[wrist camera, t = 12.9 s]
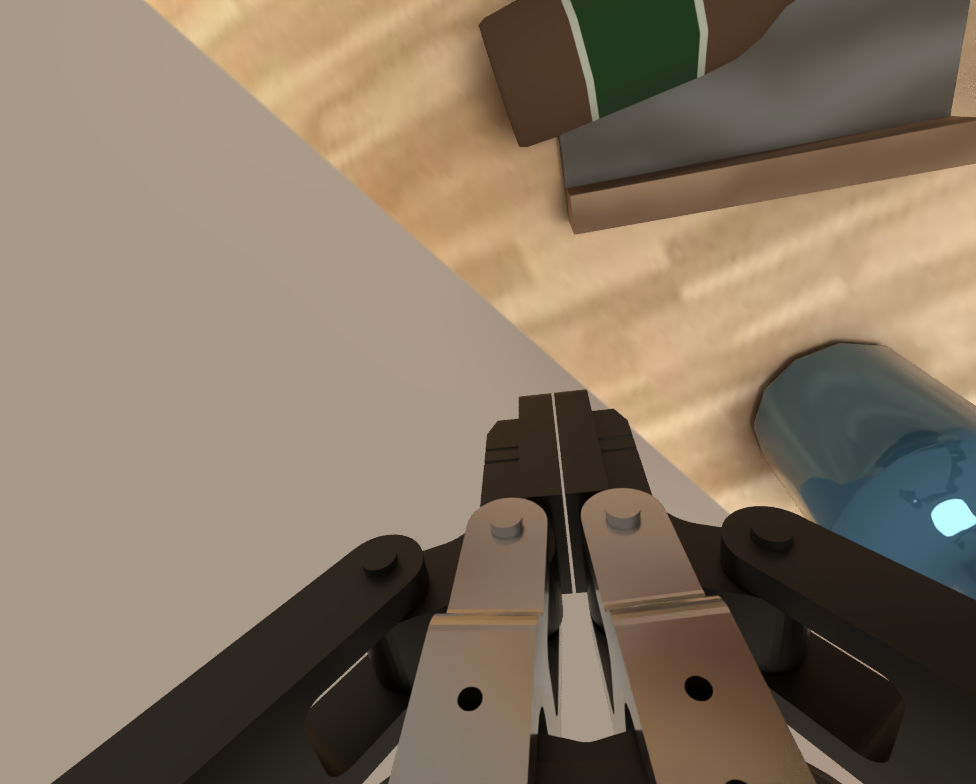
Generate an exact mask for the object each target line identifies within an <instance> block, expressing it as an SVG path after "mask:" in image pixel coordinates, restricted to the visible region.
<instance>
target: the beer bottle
mask: <svg viewBox="0 0 976 784" xmlns="http://www.w3.org/2000/svg"><path fill="white" fill-rule="evenodd" d="M794 1H796V0H516V1H514V2H512V3H511V4H509V5H507V6H505V7H503V8H502V9H500V10H498V11H496V12H494V13H493V14H491V15H489V16H487V17H485V18H484V19H483V20H482V21H481V23H480V24H479V28H480V31H481V34H482V38H483V41H484V44H485V47H486V50H487V54H488V57H489V60H490V63H491V66H492V69H493V72H494V75H495V78H496V81H497V84H498V87H499V90H500V93H501V96H502V99H503V102H504V105H505V108H506V111H507V114H508V117H509V119H510V122H511V125H512V128H513V130H514V133H515V136H516V139H517V142H518V144H519V147H528V146H531V145H534V144H537V143H540V142H543V141H546V140H548V139H551V138H554V137H557V136H559V135H561V134H564V133H566V132H569V131H571V130H574V129H576V128H578V127H581V126H583V125H586V124H588V123H590V122H593V121H595V120H598V119H600V118H602V117H605V116H607V115H610V114H612V113H614V112H617V111H619V110H622V109H624V108H626V107H629V106H631V105H634V104H636V103H639V102H641V101H643V100H646V99H648V98H651V97H653V96H655V95H658V94H660V93H663V92H665V91H667V90H670V89H672V88H675V87H677V86H679V85H682V84H684V83H687V82H689V81H691V80H694V79H696V78H699V77H701V76H703V75H706V74H708V73H710V72H712V71H714V70H716V69H718V68H720V67H722V66H724V65H726V64H728V63H730V62H732V61H734V60H736V59H737V58H738V57H739V56H741V55H742V54H743V53H744V52H745V51H747V50H748V49H749V48H750V47H751V46H753V45H754V44H755V43H756V42H757V41H759V40H760V39H761V38H762V37H763V36H764V35H765V33H766V32H767V31H768V29H769V28H770V27H771V26H772V24H773V23H774V22H775V20H776V19H777V18H778V17H779V15H780V14H781V13H782V11H783V10H784V9H785V8H786V6H788V5H789V4H791V3H793V2H794Z"/></svg>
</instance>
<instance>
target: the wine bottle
mask: <svg viewBox="0 0 976 784" xmlns="http://www.w3.org/2000/svg"><path fill="white" fill-rule="evenodd" d="M753 428H754V431H755V433H756V436H757V439H758V442H759V445H760V448H761V451H762V454H763V457H764V459H765V460H766V462H767V463H768V465H769V466H770V468H771V469H772V471H773V472H774V473H775V475H776V476H777V478H778V479H779V481H780V482H781V484H782V485H783V487H784V488H785V489H786V491H787V492H788V494H789V495H790V497H791V498H792V500H793V501H794V503H795V504H796V506H797V507H798V508H799V510H800V511H801V513H802V514H803V516H804V517H805V519H808V520H810V521H812V522H814V523H816V524H818V525H820V526H822V527H824V528H826V529H828V530H830V531H833V532H835V533H837V534H839V535H841V536H843V537H845V538H847V539H849V540H851V541H853V542H856V543H858V544H860V545H862V546H864V547H866V548H868V549H870V550H872V551H874V552H876V553H878V554H881V555H883V556H885V557H887V558H889V559H891V560H893V561H895V562H897V563H899V564H901V565H904V566H906V567H908V568H910V569H912V570H914V571H916V572H918V573H920V574H922V575H924V576H927V577H929V578H931V579H933V580H935V581H937V582H939V583H941V584H943V585H945V586H947V587H949V588H952V589H954V590H956V591H958V592H960V593H962V594H964V595H966V596H968V597H970V598H972V599H975V600H976V406H975V405H974V404H972V403H971V402H969V401H968V400H966V399H965V398H963V397H962V396H960V395H959V394H957V393H956V392H954V391H953V390H951V389H950V388H948V387H947V386H945V385H944V384H942V383H941V382H939V381H938V380H936V379H935V378H933V377H932V376H930V375H929V374H927V373H926V372H924V371H923V370H921V369H920V368H919V367H917V366H916V365H914V364H913V363H911V362H910V361H908V360H907V359H905V358H904V357H902V356H901V355H899V354H898V353H896V352H895V351H893V350H892V349H890V348H889V347H887V346H877V345H862V344H847V343H835V344H833V345H830V346H828V347H825V348H822V349H820V350H817V351H815V352H812V353H809V354H807V355H804V356H802V357H799V358H797V359H794V360H793V361H792V362H791V363H790V364H789V365H788V366H787V367H786V368H785V369H784V370H783V371H782V372H781V373H780V374H779V375H778V376H777V377H776V378H775V379H774V380H773V381H772V382H771V383H770V384H769V385H768V386H767V387H766V388H765V390H764V393H763V396H762V399H761V402H760V405H759V408H758V411H757V414H756V418H755V421H754V427H753Z"/></svg>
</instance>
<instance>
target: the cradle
mask: <svg viewBox="0 0 976 784" xmlns="http://www.w3.org/2000/svg"><path fill="white" fill-rule="evenodd" d="M969 4H970V0H796V1H794V2H793V3H791V4H789V5H788V6H786V8H785V9H784V10H783V11H782V13H781V14H780V15H779V17H778V18H777V19H776V20H775V22H774V23H773V24H772V26H771V27H770V28H769V29H768V31H767V32H766V33H765V35H764V36H763V37H762V38H761V39H760V40H759V41H757V42H756V43H755V44H754V45H753V46H751V47H750V48H749V49H748V50H747V51H745V52H744V53H743V54H742V55H741V56H739V57H738V58H737V59H736V60H734V61H732V62H730V63H728V64H726V65H724V66H722V67H720V68H718V69H716V70H714V71H712V72H710V73H708V74H706V75H703V76H701V77H699V78H696V79H694V80H691V81H689V82H687V83H684V84H682V85H679V86H677V87H675V88H672V89H670V90H667V91H665V92H663V93H660V94H658V95H655V96H653V97H651V98H648V99H646V100H643V101H641V102H639V103H636V104H634V105H631V106H629V107H626V108H624V109H622V110H619V111H617V112H614V113H612V114H610V115H607V116H605V117H602V118H600V119H598V120H595V121H593V122H590V123H588V124H586V125H583V126H581V127H578V128H576V129H574V130H571V131H569V132H566V133H564V134H561V135H559V139H560V148H561V156H562V165H563V173H564V182H565V190H566V199H567V207H568V216H569V222H570V225H571V227H572V229H573V232H574V234H581V233H586V232H592V231H598V230H603V229H609V228H615V227H620V226H626V225H631V224H637V223H643V222H648V221H654V220H660V219H665V218H671V217H677V216H682V215H688V214H693V213H699V212H705V211H710V210H716V209H722V208H727V207H733V206H739V205H744V204H750V203H755V202H761V201H767V200H772V199H778V198H784V197H789V196H795V195H801V194H806V193H812V192H817V191H823V190H829V189H834V188H840V187H846V186H851V185H857V184H863V183H868V182H874V181H879V180H885V179H891V178H896V177H902V176H908V175H913V174H919V173H925V172H930V171H936V170H941V169H947V168H953V167H958V166H964V165H970V164H975V163H976V117H957V116H950V114H951V108H952V102H953V97H954V91H955V85H956V79H957V73H958V68H959V62H960V56H961V50H962V44H963V39H964V33H965V27H966V21H967V15H968V10H969Z"/></svg>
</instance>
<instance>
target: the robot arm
mask: <svg viewBox="0 0 976 784" xmlns="http://www.w3.org/2000/svg"><path fill="white" fill-rule="evenodd" d="M554 397H555V406H556V415H557V424H558V433H559V443H560V452H561V461H562V470H563V479H564V488H565V496H566V506H567V515H568V524H569V533H570V542H571V550H572V559H573V569H574V578H575V586H576V593H582V592H587V594H588V602H589V609H590V619H591V629H592V635H593V640H594V644H595V649H596V653H597V658H598V662H599V667H600V671H601V676H602V680H603V684H604V689H605V693H606V698H607V702H608V707H609V712H610V716H611V720H612V725H613V730H614V735H613V736H610V737H606V738H603V739H600V740H597V741H593V742H578V741H574V740H570V739H566V738H561V690H562V686H561V685H562V684H561V683H562V628H561V622H562V618H563V605H562V594H570V593H572V583H571V574H570V564H569V554H568V545H567V537H566V536H567V535H566V525H565V517H564V507H563V497H562V487H561V478H560V469H559V460H558V451H557V441H556V432H555V424H554V416H553V405H552V396H551V393H549V394H540V395H531V396H521V397H519V419H511V420H501V421H497V422H496V424H495V425H494V426H493V428H492V429H491V430H490V431H489V433H488V434H487V441H486V453H485V465H484V472H483V483H482V494H481V504H480V508H479V509H478V510H477V511H475V512H474V514H473V515H472V516H471V518H470V519H469V521H468V524H467V527H466V531H465V533H464V534H463V535H462V536H460V537H459V538H457V539H455V540H453V541H451V542H448V543H446V544H443V545H440V546H437V547H434V548H431V549H428V550H425V551H422V549H421V547H420V546H419V544H418V543H417V542H416V541H415V540H413V539H412V538H409V537H407V536H403V535H385V536H380V537H377V538H374V539H371V540H369V541H367V542H365V543H363V544H361V545H360V546H358V547H357V548H355V549H354V550H353V551H351V552H350V553H349V554H348V555H346V556H345V557H344V558H342V559H341V560H340V561H339V562H337V563H336V564H335V565H333V566H332V567H331V568H329V569H328V570H327V571H326V572H324V573H323V574H322V575H320V576H319V577H318V578H317V579H315V580H314V581H313V582H311V583H310V584H309V585H307V586H306V587H305V588H304V589H302V590H301V591H300V592H298V593H297V594H296V595H295V596H293V597H292V598H291V599H289V600H288V601H287V602H286V603H284V604H283V605H282V606H280V607H279V608H278V609H277V610H275V611H274V612H272V613H271V614H270V615H269V616H267V617H266V618H265V619H263V620H262V621H261V622H260V623H258V624H257V625H256V626H255V627H253V628H252V629H251V630H249V631H248V632H247V633H245V634H244V635H243V636H241V637H240V638H239V639H238V640H236V641H235V642H234V643H232V644H231V645H230V646H228V647H227V648H226V649H225V650H223V651H222V652H221V653H219V654H218V655H217V656H216V657H214V658H213V659H212V660H210V661H209V662H208V663H207V664H205V665H204V666H203V667H201V668H200V669H199V670H197V671H196V672H195V673H194V674H192V675H191V676H190V677H188V678H187V679H186V680H185V681H183V682H182V683H181V684H179V685H178V686H177V687H175V688H174V689H173V690H172V691H170V692H169V693H168V694H166V695H165V696H164V697H162V698H161V699H160V700H159V701H157V702H156V703H155V704H153V705H152V706H151V707H150V708H148V709H147V710H146V711H144V712H143V713H142V714H140V715H139V716H138V717H137V718H135V719H134V720H133V721H131V722H130V723H129V724H128V725H126V726H125V727H124V728H122V729H121V730H120V731H119V732H117V733H116V734H115V735H113V736H112V737H111V738H109V739H108V740H107V741H106V742H104V743H103V744H102V745H100V746H99V747H98V748H96V749H95V750H94V751H93V752H91V753H90V754H89V755H87V756H86V757H85V758H84V759H82V760H81V761H80V762H78V763H77V764H76V765H74V766H73V767H72V768H71V769H69V770H68V771H67V772H66V773H64V774H63V775H61V776H60V777H59V778H58V779H56V780H55V781H54V782H53V783H52V784H362V783H363V782H364V781H365V780H366V779H367V778H368V777H369V776H370V774H371V773H372V772H373V771H374V770H375V769H376V768H377V767H378V765H379V764H380V763H381V762H382V761H383V760H384V759H385V758H386V757H387V756H388V754H389V753H390V752H391V751H392V750H393V749H394V748H395V747H396V746H397V744H398V743H399V744H398V748H397V751H396V755H395V759H394V763H393V767H392V771H391V775H390V776H389V777H388V778H386V779H385V780H384V781H383V782H381V783H380V784H841V783H840V782H839V781H837V780H836V779H834V778H833V777H831V776H830V775H828V774H827V773H825V772H823V771H821V770H819V769H818V768H816V767H814V766H812V765H811V764H809V763H807V762H805V760H804V758H803V756H802V754H801V752H800V750H799V748H798V746H797V744H796V742H795V740H794V738H793V736H792V734H791V732H790V730H789V728H788V726H787V725H789V726H790V727H791V728H793V729H794V730H795V731H796V732H798V733H799V734H800V735H802V736H803V737H804V738H805V739H807V740H808V741H809V742H811V743H812V744H813V745H815V746H816V747H817V748H818V749H820V750H821V751H822V752H823V753H825V754H826V755H827V756H829V757H830V758H831V759H832V760H834V761H835V762H836V763H838V764H839V765H840V766H841V767H843V768H844V769H845V770H847V771H848V772H849V773H851V774H852V775H853V776H854V777H856V778H857V779H858V780H859V781H861V782H862V783H863V784H976V600H975V599H972V598H970V597H968V596H966V595H964V594H962V593H960V592H958V591H956V590H954V589H952V588H949V587H947V586H945V585H943V584H941V583H939V582H937V581H935V580H933V579H931V578H929V577H927V576H924V575H922V574H920V573H918V572H916V571H914V570H912V569H910V568H908V567H906V566H904V565H901V564H899V563H897V562H895V561H893V560H891V559H889V558H887V557H885V556H883V555H881V554H878V553H876V552H874V551H872V550H870V549H868V548H866V547H864V546H862V545H860V544H858V543H856V542H853V541H851V540H849V539H847V538H845V537H843V536H841V535H839V534H837V533H835V532H833V531H830V530H828V529H826V528H824V527H822V526H820V525H818V524H816V523H814V522H812V521H810V520H808V519H805V518H803V517H801V516H799V515H797V514H795V513H792V512H790V511H787V510H783V509H780V508H775V507H767V506H754V507H747V508H743V509H740V510H737V511H735V512H733V513H732V514H730V515H729V516H728V517H727V518H726V519H725V521H724V522H723V525H722V527H716V526H709V525H702V524H696V523H691V522H687V521H684V520H681V519H679V518H676V517H674V516H672V515H670V514H669V513H667V512H666V510H665V508H664V507H663V505H662V504H661V503H660V502H659V501H658V500H657V499H656V498H655V497H653V496H652V494H651V490H650V487H649V484H648V481H647V478H646V475H645V472H644V469H643V466H642V463H641V460H640V457H639V454H638V451H637V449H636V445H635V441H634V439H633V436H632V432H631V429H630V426H629V423H628V420H627V419H625V418H624V417H623V416H622V415H621V414H619V413H618V412H617V411H616V410H615V409H607V410H597V411H592V410H591V406H590V401H589V397H588V392H587V389H585V390H576V391H567V392H558V393H554ZM811 630H812V631H814V632H815V633H817V634H819V635H820V636H822V637H823V638H825V639H827V640H828V641H830V642H831V643H833V644H835V645H836V646H838V647H839V648H841V649H843V650H844V651H846V652H847V653H849V654H850V655H852V656H854V657H855V658H857V659H858V660H860V661H862V662H863V663H865V664H867V665H868V666H870V667H871V668H873V669H874V670H876V671H878V672H879V673H880V674H882V675H883V676H885V677H886V678H887V679H888V680H889V681H888V680H887V679H885V678H884V677H882V676H880V675H879V674H877V673H876V672H874V671H872V670H871V669H869V668H867V667H866V666H864V665H863V664H861V663H860V662H858V661H856V660H855V659H853V658H852V657H850V656H849V655H847V654H845V653H844V652H842V651H841V650H839V649H837V648H836V647H834V646H833V645H831V644H829V643H828V642H826V641H825V640H823V639H821V638H820V637H818V636H817V635H815V634H813V633H812V632H811ZM366 652H367V653H368V655H367V656H366V657H364V658H363V659H362V660H361V661H360V662H359V663H358V664H357V665H356V666H355V667H354V668H353V669H352V670H351V671H350V672H348V674H346V675H345V676H344V677H343V678H342V679H341V680H340V681H339V682H338V683H337V684H336V685H335V686H334V687H333V688H331V689H330V690H329V691H328V692H327V693H326V694H325V695H324V696H323V697H322V698H321V699H320V700H319V701H317V703H315V704H314V705H313V706H312V704H313V703H314V702H315V701H316V699H317V698H318V697H319V696H320V695H321V694H322V693H323V692H324V691H325V690H327V689H328V688H329V687H330V686H331V685H332V684H333V683H334V682H335V681H336V680H337V679H338V678H339V677H340V676H342V675H343V674H344V673H345V672H346V671H347V670H348V669H349V668H350V667H351V666H352V665H353V664H354V663H356V661H358V660H359V659H360V658H361V657H362V656H363V655H364V654H365V653H366ZM311 706H312V707H311ZM310 707H311V708H310Z"/></svg>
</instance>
